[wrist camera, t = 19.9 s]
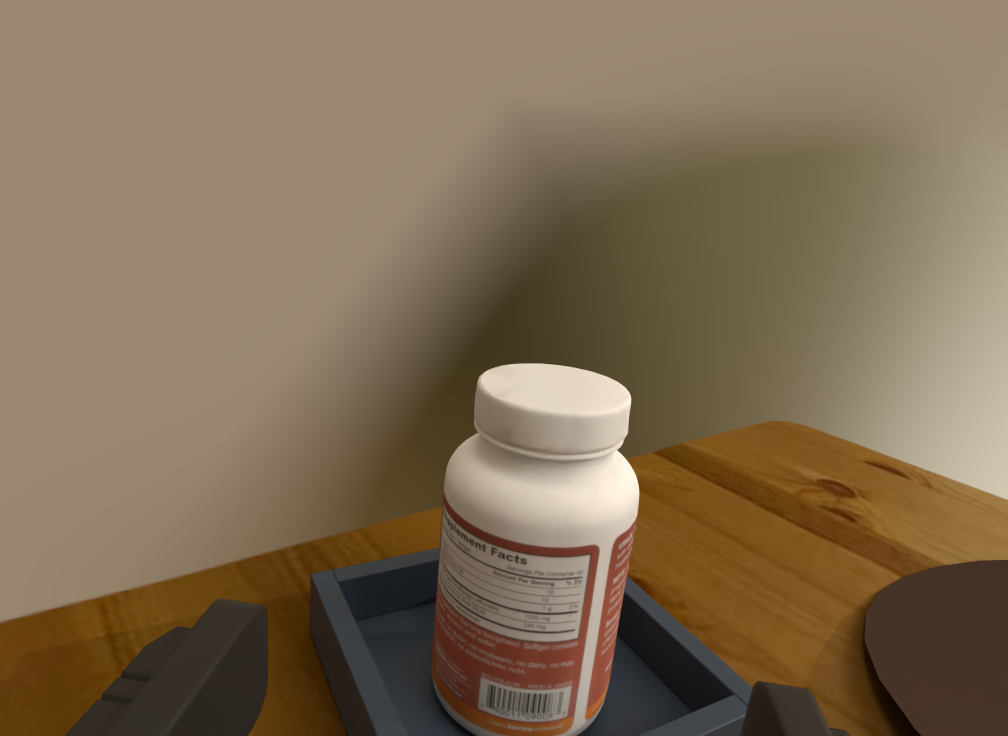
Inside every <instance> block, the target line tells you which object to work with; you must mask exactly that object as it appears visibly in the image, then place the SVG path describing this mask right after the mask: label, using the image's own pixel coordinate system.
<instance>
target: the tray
mask: <svg viewBox="0 0 1008 736" xmlns="http://www.w3.org/2000/svg"><path fill="white" fill-rule="evenodd" d="M439 552H440V548H437V549H432V550H427V551H422V552H417V553H412V554H407V555H402V556H397V557H393V558H388V559H383V560H378V561H373V562H368V563H363V564H358V565H353V566H349V567H344V568H339V569H334V570H333V571H332V570H329V571H324V572H319V573H314V574H311V602H310V619H311V620H310V633H311V635H312V638H313V641H314V644H315V646H316V649H317V652H318V655H319V657H320V660H321V663H322V666H323V669H324V671H325V674H326V677H327V680H328V682H329V685H330V688H331V691H332V693H333V696H334V699H335V702H336V705H337V707H338V710H339V713H340V716H341V718H342V721H343V724H344V727H345V729H346V732H347V735H348V736H476V735H474V734H473V733H471V732H469V731H468V730H466V729H465V728H463V727H462V726H461V725H460V724H459V723H457V722H456V721H455V720H454V719H453V718H452V717H451V716H450V715H449V714H448V712H447V711H446V710H445V708H444V707H443V706H442V704H441V702H440V700H439V699H438V697H437V694H436V692H435V689H434V685H433V680H432V647H433V634H434V621H435V608H436V594H437V580H438V567H439ZM752 689H753V688H752V687H751V686H750V685H749V684H748V683H747V682H745V681H744V680H743V679H742V678H741V677H740V676H739V675H738V674H736V673H735V672H734V671H733V670H732V669H731V668H730V667H729V666H727V665H726V664H725V663H724V662H723V661H722V660H721V659H720V658H718V657H717V656H716V655H715V654H714V653H713V652H712V651H711V650H709V649H708V648H707V647H706V646H705V645H704V644H703V643H702V642H700V641H699V640H698V639H697V638H696V637H695V636H694V635H693V634H691V633H690V632H689V631H688V630H687V629H686V628H685V627H684V626H682V625H681V624H680V623H679V622H678V621H677V620H676V619H675V618H673V617H672V616H671V615H670V614H669V613H668V612H667V611H666V610H664V609H663V608H662V607H661V606H660V605H659V604H658V603H657V602H655V601H654V600H653V599H652V598H651V597H650V596H649V595H648V594H646V593H645V592H644V591H643V590H642V589H641V588H640V587H639V586H637V585H636V584H635V583H634V582H633V581H632V580H631V579H630V578H628V577H626V583H625V588H624V594H623V601H622V606H621V612H620V618H619V624H618V630H617V636H616V643H615V649H614V655H613V661H612V668H611V674H610V680H609V685H608V689H607V693H606V697H605V700H604V703H603V705H602V708H601V710H600V711H599V713H598V715H597V717H596V718H595V720H594V721H593V722H592V723H591V724H590V725H589V726H588V727H587V728H586V729H585V730H584V731H582V732H581V733H580V734H578V735H577V736H740V733H741V729H742V726H743V722H744V718H745V714H746V711H747V707H748V703H749V699H750V695H751V692H752Z"/></svg>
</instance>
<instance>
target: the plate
mask: <svg viewBox="0 0 1008 736" xmlns="http://www.w3.org/2000/svg"><path fill="white" fill-rule="evenodd" d="M864 641H865V644H866V646H867V649H868V651H869V654H870V656H871V659H872V662H873V664H874V667H875V669H876V672H877V675H878V677H879V679H880V681H881V682H882V683H883V685H884V686H885V688H886V689H887V690H888V692H889V693H890V695H891V696H892V697H893V699H894V700H895V702H896V703H897V704H898V706H899V707H900V709H901V710H902V711H903V713H904V714H905V716H906V717H907V718H908V720H909V721H910V723H911V724H912V725H913V727H914V728H915V729H916V730H917V732H918V733H919V734H920V735H921V736H1008V560H990V561H974V562H967V563H960V564H953V565H946V566H938V567H935V568H931V569H928V570H925V571H922V572H918V573H915V574H912V575H909V576H905V577H903V578H901V579H900V580H898V581H897V582H895V583H893V584H892V585H890V586H888V587H887V588H885V589H884V590H882V591H880V592H879V594H878V595H877V597H876V598H875V600H874V601H873V603H872V604H871V606H870V607H869V609H868V610H867V612H866V619H865V639H864Z"/></svg>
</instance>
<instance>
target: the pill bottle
mask: <svg viewBox="0 0 1008 736" xmlns="http://www.w3.org/2000/svg"><path fill="white" fill-rule="evenodd" d="M630 406H631V396H630V393H629V392H628V391H627V389H626V388H625V387H624V386H623V385H621V384H620V383H618V382H616V381H614V380H612V379H610V378H608V377H606V376H603V375H600V374H597V373H594V372H590V371H586V370H582V369H578V368H572V367H566V366H560V365H549V364H511V365H505V366H500V367H496V368H493V369H490V370H488V371H486V372H484V373H483V374H482V375H481V376H480V377H479V379H478V383H477V390H476V397H475V410H474V416H475V420H474V425H475V428H476V430H477V431H478V433H477V434H475V435H474V436H472V437H471V438H469V439H468V440H466V441H465V442H464V443H463V444H461V445H460V446H459V447H458V448H457V449H456V451H455V452H454V454H453V455H452V457H451V459H450V461H449V463H448V466H447V470H446V477H445V485H444V497H443V509H442V524H441V538H440V552H439V567H438V580H437V594H436V608H435V621H434V634H433V647H432V680H433V685H434V689H435V692H436V694H437V697H438V699H439V700H440V702H441V704H442V706H443V707H444V708H445V710H446V711H447V712H448V714H449V715H450V716H451V717H452V718H453V719H454V720H455V721H456V722H457V723H459V724H460V725H461V726H462V727H463V728H465V729H466V730H468V731H469V732H471V733H473V734H474V735H476V736H577V735H578V734H580V733H581V732H582V731H584V730H585V729H586V728H587V727H588V726H589V725H590V724H591V723H592V722H593V721H594V720H595V718H596V717H597V715H598V713H599V711H600V710H601V708H602V705H603V703H604V700H605V697H606V693H607V689H608V685H609V680H610V674H611V668H612V661H613V655H614V649H615V643H616V636H617V630H618V624H619V618H620V612H621V606H622V601H623V594H624V588H625V583H626V577H627V572H628V566H629V560H630V555H631V550H632V543H633V539H634V532H635V527H636V521H637V513H638V503H639V486H638V481H637V478H636V475H635V473H634V471H633V469H632V467H631V466H630V464H629V463H628V461H627V460H626V459H625V458H624V457H623V456H622V455H621V454H620V453H619V452H618V451H617V449H618V448H620V447H621V445H622V443H623V440H624V438H625V436H626V435H627V433H628V422H629V413H630Z"/></svg>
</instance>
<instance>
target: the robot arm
mask: <svg viewBox="0 0 1008 736" xmlns="http://www.w3.org/2000/svg"><path fill="white" fill-rule="evenodd" d="M267 682H268V616H267V609H266V607H265V606H264V605H260V604H253V603H247V602H240V601H233V600H227V599H218V600H216V601H215V602H214V603H213V604H212V605H211V606H210V607H209V608H208V609H207V611H206V612H205V613H204V614H203V615H202V617H201V618H200V619H199V620H198V621H197V623H196V624H195V625H194V626H193V627H192V628H186V627H179V626H177V627H175V628H174V629H172V630H171V631H169V632H167V633H166V634H164V635H163V636H161V637H159V638H158V639H156V640H155V641H153V642H152V643H150V644H148V645H147V646H145V647H144V648H143V650H142V651H141V652H140V653H139V654H138V655H137V656H136V657H135V658H134V660H133V661H132V662H131V663H130V664H129V665H128V666H127V667H126V669H125V670H124V671H123V672H122V675H121V677H120V678H117V679H116V680H115V681H114V682H113V683H112V684H111V685H110V686H109V687H108V689H107V690H106V691H105V692H104V693H103V694H102V698H101V700H97V701H96V702H95V703H94V704H93V705H92V706H91V707H90V709H89V710H88V711H87V712H86V713H85V714H84V715H83V716H82V717H81V719H80V720H79V721H78V722H77V723H76V724H75V725H74V726H73V727H72V729H71V730H70V731H69V732H68V733H67V734H66V735H65V736H248V735H249V733H250V731H251V729H252V728H253V726H254V724H255V722H256V720H257V718H258V716H259V714H260V711H261V708H262V705H263V702H264V699H265V694H266V689H267ZM740 736H850V735H849V734H848V733H847V732H846V731H845V730H839V729H832V728H829V727H828V725H827V723H826V721H825V719H824V716H823V714H822V712H821V710H820V708H819V706H818V704H817V702H816V700H815V698H814V696H813V694H812V693H811V692H810V691H809V690H808V689H806V688H801V687H795V686H788V685H781V684H775V683H768V682H761V681H758V682H756V683H755V685H754V686H753V689H752V692H751V695H750V699H749V703H748V707H747V711H746V714H745V718H744V722H743V726H742V729H741V733H740Z"/></svg>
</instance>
